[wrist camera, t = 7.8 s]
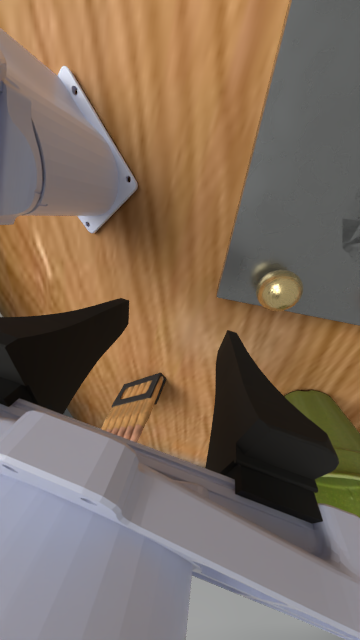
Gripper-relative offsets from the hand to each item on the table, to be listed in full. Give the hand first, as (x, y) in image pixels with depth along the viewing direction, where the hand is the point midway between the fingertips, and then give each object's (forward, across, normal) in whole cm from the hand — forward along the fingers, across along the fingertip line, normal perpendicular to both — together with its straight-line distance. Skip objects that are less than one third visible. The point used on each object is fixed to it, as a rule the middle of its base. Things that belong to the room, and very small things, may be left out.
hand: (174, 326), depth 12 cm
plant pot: (+11, -22, +15) cm, 29 cm away
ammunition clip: (+11, +5, +23) cm, 26 cm away
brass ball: (+6, -8, -3) cm, 10 cm away
